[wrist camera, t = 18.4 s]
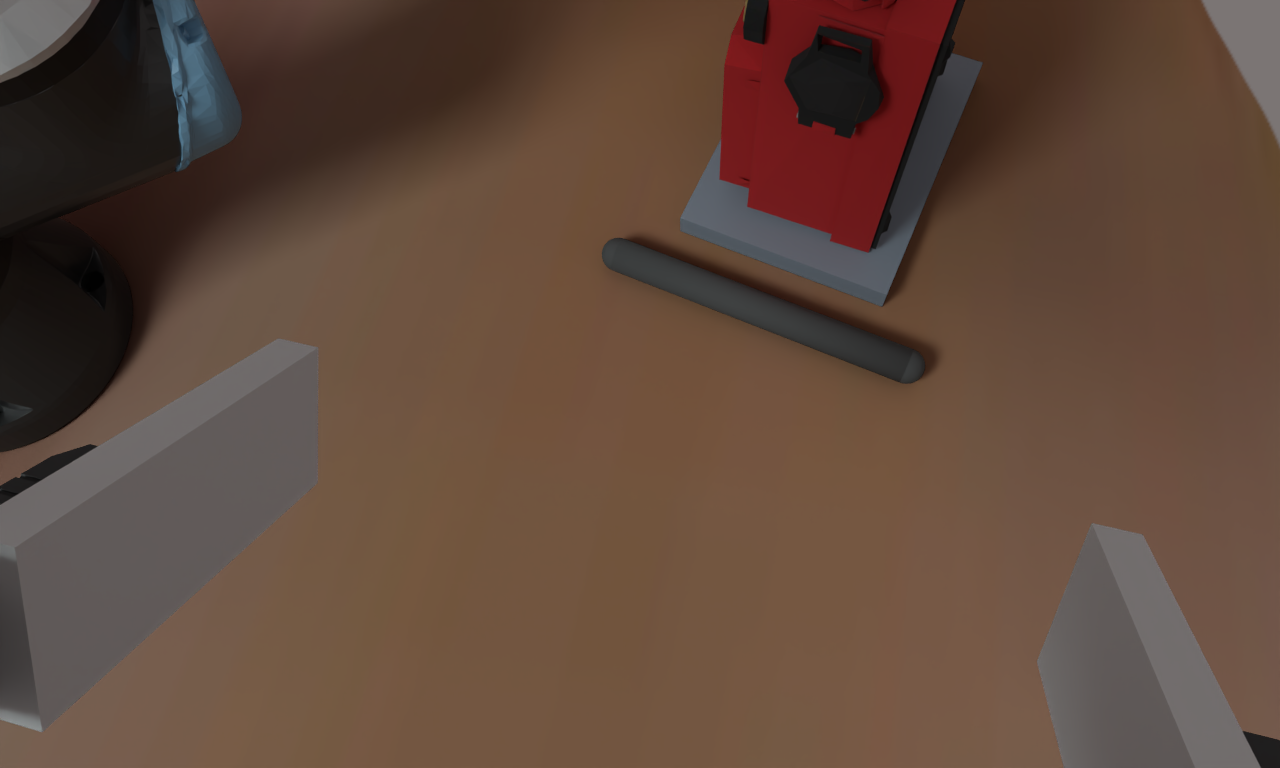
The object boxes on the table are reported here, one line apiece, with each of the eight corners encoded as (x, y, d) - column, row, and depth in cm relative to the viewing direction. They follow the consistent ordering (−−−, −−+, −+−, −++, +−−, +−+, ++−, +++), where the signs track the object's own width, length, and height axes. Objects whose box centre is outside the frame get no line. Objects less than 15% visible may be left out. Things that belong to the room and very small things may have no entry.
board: (680, 231, 59) (680, 218, 58) (789, 18, 65) (791, 2, 63) (882, 306, 57) (886, 294, 55) (976, 78, 62) (983, 62, 61)
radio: (792, 25, 63) (835, -287, 44) (945, 67, 61) (1056, -240, 42) (707, 221, 58) (715, -39, 39) (871, 273, 56) (962, 26, 37)
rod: (597, 270, 58) (594, 253, 57) (612, 243, 59) (609, 227, 57) (914, 394, 54) (921, 380, 53) (925, 364, 55) (933, 350, 53)
